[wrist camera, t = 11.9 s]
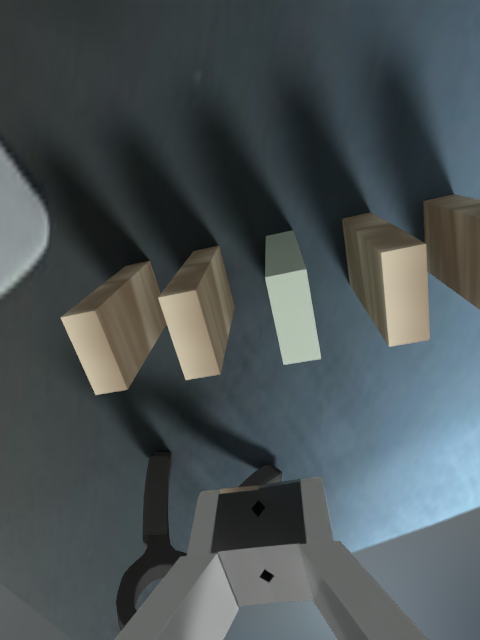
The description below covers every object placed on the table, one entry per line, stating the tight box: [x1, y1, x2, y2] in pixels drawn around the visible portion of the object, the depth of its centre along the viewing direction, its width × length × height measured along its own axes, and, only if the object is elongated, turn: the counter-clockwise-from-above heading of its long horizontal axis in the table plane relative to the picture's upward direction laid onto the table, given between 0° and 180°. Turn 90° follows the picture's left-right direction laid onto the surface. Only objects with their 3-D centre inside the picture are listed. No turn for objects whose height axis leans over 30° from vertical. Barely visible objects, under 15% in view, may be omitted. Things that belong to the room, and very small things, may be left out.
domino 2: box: [158, 246, 235, 380], centre depth 24 cm, size 2×5×10 cm, turn 13°
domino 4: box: [342, 212, 430, 347], centre depth 23 cm, size 2×5×10 cm, turn 13°
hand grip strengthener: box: [116, 452, 282, 631], centre depth 30 cm, size 2×12×15 cm, turn 87°
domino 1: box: [61, 261, 167, 395], centre depth 25 cm, size 2×5×10 cm, turn 13°
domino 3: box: [265, 230, 321, 365], centre depth 24 cm, size 2×5×10 cm, turn 13°
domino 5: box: [423, 194, 480, 309], centre depth 22 cm, size 2×5×10 cm, turn 13°
